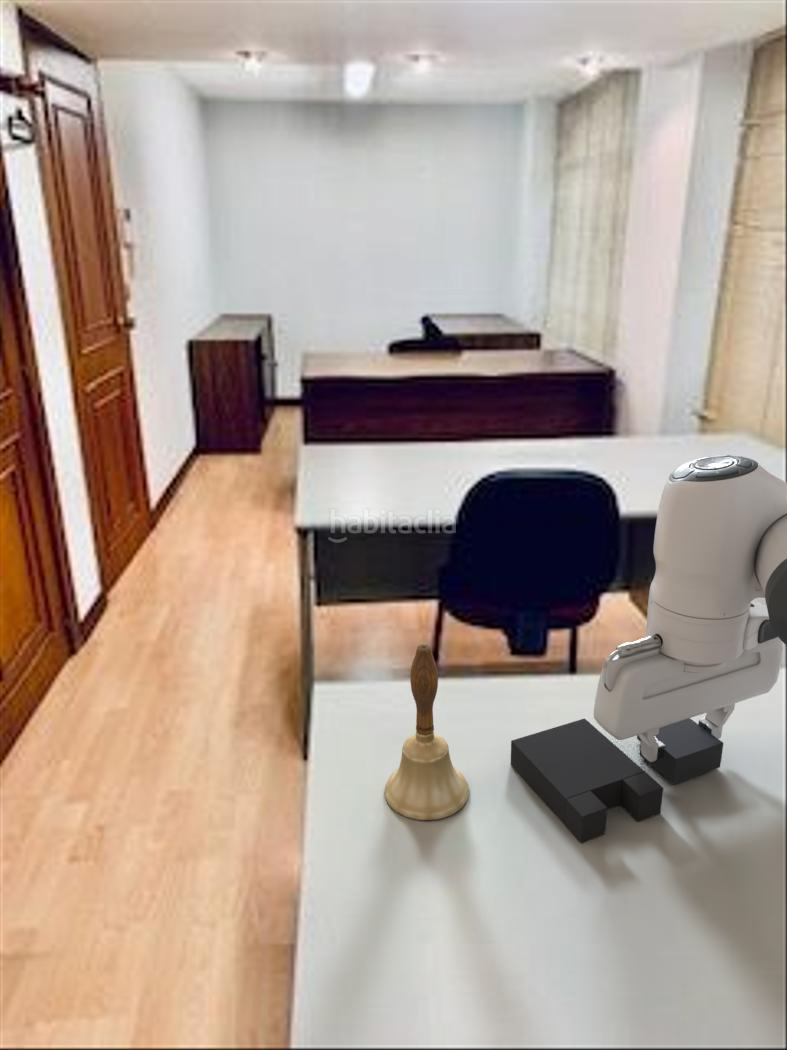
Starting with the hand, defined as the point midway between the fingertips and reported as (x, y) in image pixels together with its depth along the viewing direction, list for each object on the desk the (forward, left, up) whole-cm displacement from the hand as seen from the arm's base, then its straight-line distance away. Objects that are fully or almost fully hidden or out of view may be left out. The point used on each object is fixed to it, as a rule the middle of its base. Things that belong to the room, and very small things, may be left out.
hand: (681, 746), depth 77 cm
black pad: (+11, -1, -2) cm, 11 cm away
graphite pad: (0, -1, -2) cm, 2 cm away
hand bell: (+25, -7, -2) cm, 26 cm away
